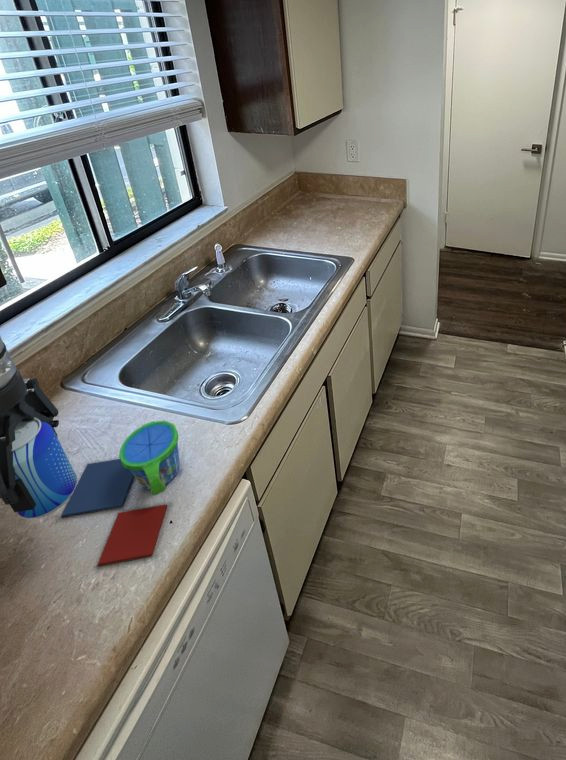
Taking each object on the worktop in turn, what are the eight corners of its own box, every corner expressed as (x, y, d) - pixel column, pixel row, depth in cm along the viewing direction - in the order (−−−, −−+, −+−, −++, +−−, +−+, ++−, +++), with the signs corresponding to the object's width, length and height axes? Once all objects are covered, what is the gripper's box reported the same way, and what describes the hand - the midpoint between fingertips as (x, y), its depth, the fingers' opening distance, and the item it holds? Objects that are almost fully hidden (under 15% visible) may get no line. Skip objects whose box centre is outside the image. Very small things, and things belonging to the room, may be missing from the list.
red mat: (98, 565, 78) (97, 564, 78) (119, 514, 86) (118, 512, 86) (152, 555, 80) (151, 553, 79) (167, 506, 88) (166, 504, 87)
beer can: (79, 503, 75) (46, 440, 68) (17, 533, 71) (-25, 469, 64) (79, 465, 81) (49, 404, 74) (22, 491, 77) (-16, 428, 70)
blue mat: (62, 517, 86) (61, 515, 86) (88, 465, 96) (87, 463, 95) (122, 506, 88) (121, 505, 87) (142, 457, 97) (141, 455, 97)
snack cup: (188, 496, 89) (176, 463, 85) (129, 519, 85) (114, 486, 81) (187, 435, 102) (177, 404, 98) (136, 453, 98) (123, 422, 94)
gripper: (-38, 442, 55) (29, 545, 65) (53, 333, 74) (94, 425, 84) (-107, 451, 54) (-28, 554, 64) (3, 338, 73) (51, 431, 83)
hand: (41, 481), depth 74 cm, fingers closed on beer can, 8 cm apart
